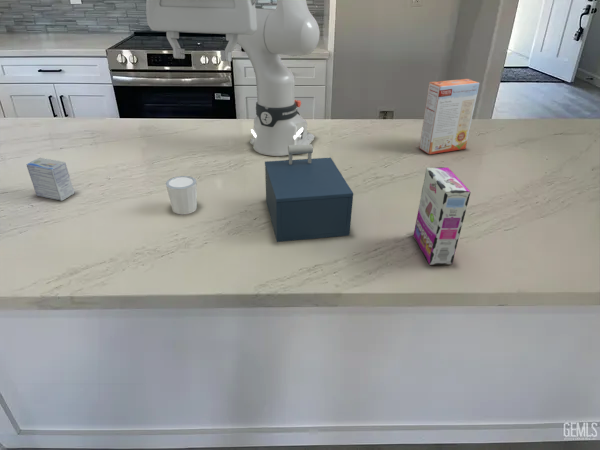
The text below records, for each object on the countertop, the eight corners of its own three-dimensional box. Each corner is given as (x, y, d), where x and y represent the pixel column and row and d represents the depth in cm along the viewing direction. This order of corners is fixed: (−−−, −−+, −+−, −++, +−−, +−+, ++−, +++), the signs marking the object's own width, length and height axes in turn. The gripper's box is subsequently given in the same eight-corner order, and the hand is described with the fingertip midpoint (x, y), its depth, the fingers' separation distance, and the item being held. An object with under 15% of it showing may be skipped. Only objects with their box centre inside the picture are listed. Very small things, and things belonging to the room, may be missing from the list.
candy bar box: (453, 265, 87) (472, 191, 79) (429, 266, 87) (445, 192, 78) (434, 234, 97) (449, 165, 88) (412, 235, 96) (424, 166, 88)
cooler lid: (264, 164, 104) (264, 143, 101) (330, 160, 107) (331, 139, 104) (276, 202, 88) (276, 178, 85) (353, 196, 91) (355, 173, 88)
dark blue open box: (266, 201, 108) (265, 166, 103) (329, 197, 111) (331, 162, 106) (276, 242, 93) (276, 202, 88) (349, 235, 96) (353, 196, 91)
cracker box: (454, 143, 144) (467, 77, 133) (466, 149, 140) (481, 82, 129) (417, 148, 140) (428, 80, 129) (428, 155, 135) (441, 85, 124)
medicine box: (75, 193, 110) (66, 161, 105) (61, 201, 106) (51, 168, 102) (50, 188, 112) (40, 156, 107) (36, 196, 108) (25, 163, 104)
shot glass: (192, 217, 101) (189, 190, 98) (164, 213, 102) (160, 186, 99) (203, 203, 107) (201, 177, 103) (177, 200, 108) (173, 174, 104)
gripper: (262, -21, 78) (261, 63, 82) (158, -22, 82) (162, 57, 87) (250, -28, 72) (249, 62, 77) (138, -29, 76) (144, 56, 81)
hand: (202, 60), depth 82 cm, fingers open, 8 cm apart
